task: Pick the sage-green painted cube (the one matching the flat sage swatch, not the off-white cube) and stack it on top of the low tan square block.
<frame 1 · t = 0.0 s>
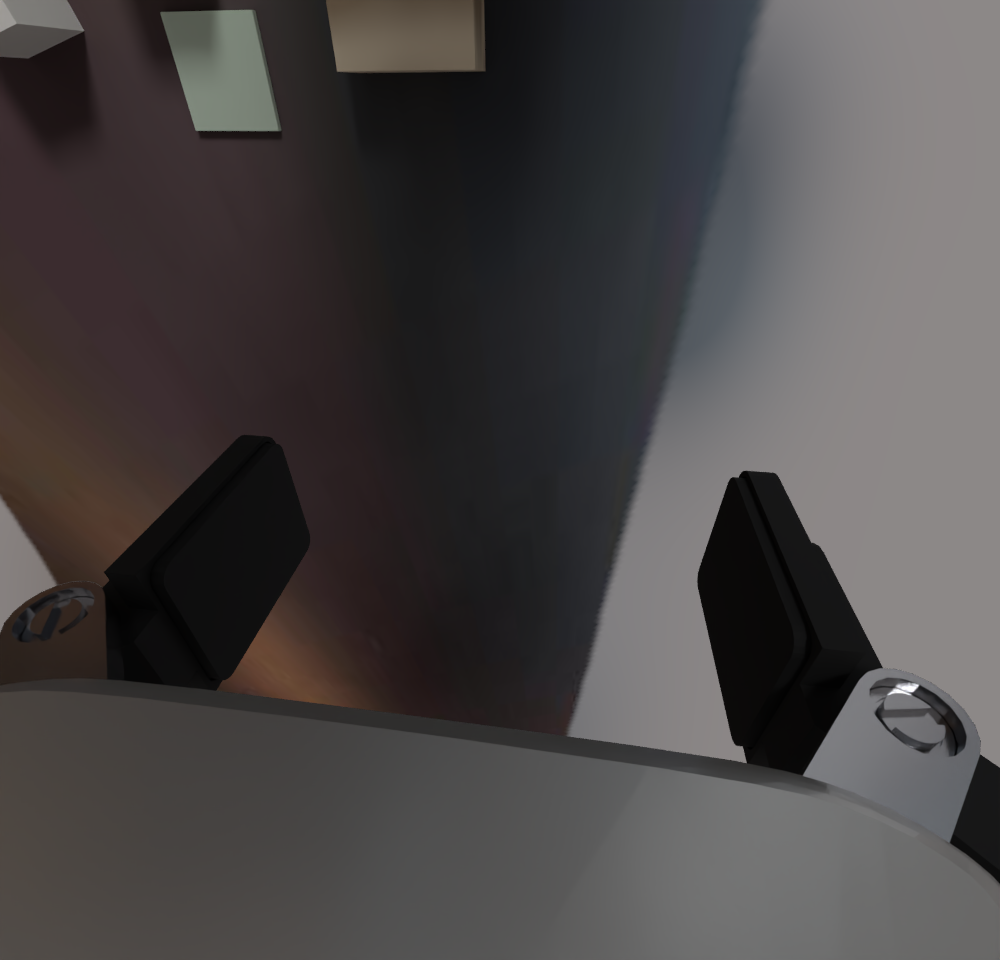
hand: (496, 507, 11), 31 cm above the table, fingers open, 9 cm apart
sage swatch: (225, 74, 33), on the table
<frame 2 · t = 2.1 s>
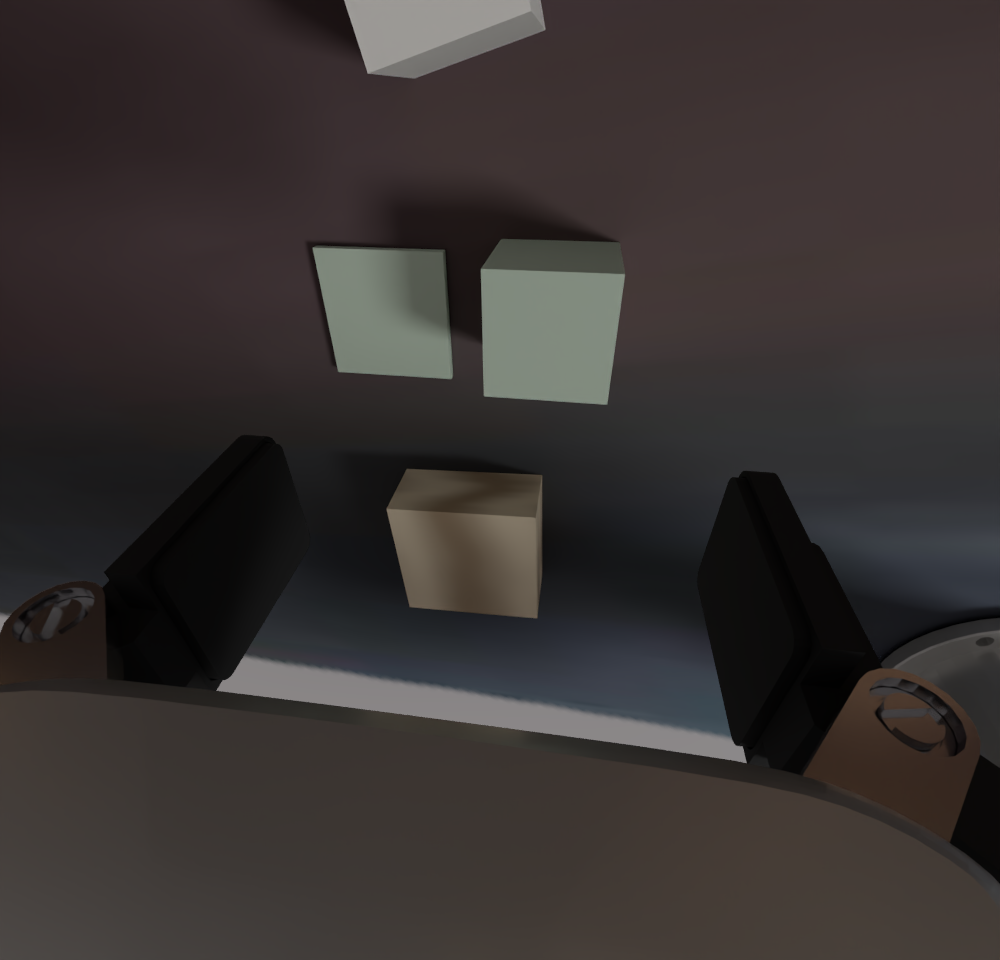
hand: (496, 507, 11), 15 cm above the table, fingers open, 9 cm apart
sage cube: (556, 299, 23), on the table
tan square block: (479, 520, 32), on the table
sage swatch: (388, 314, 25), on the table
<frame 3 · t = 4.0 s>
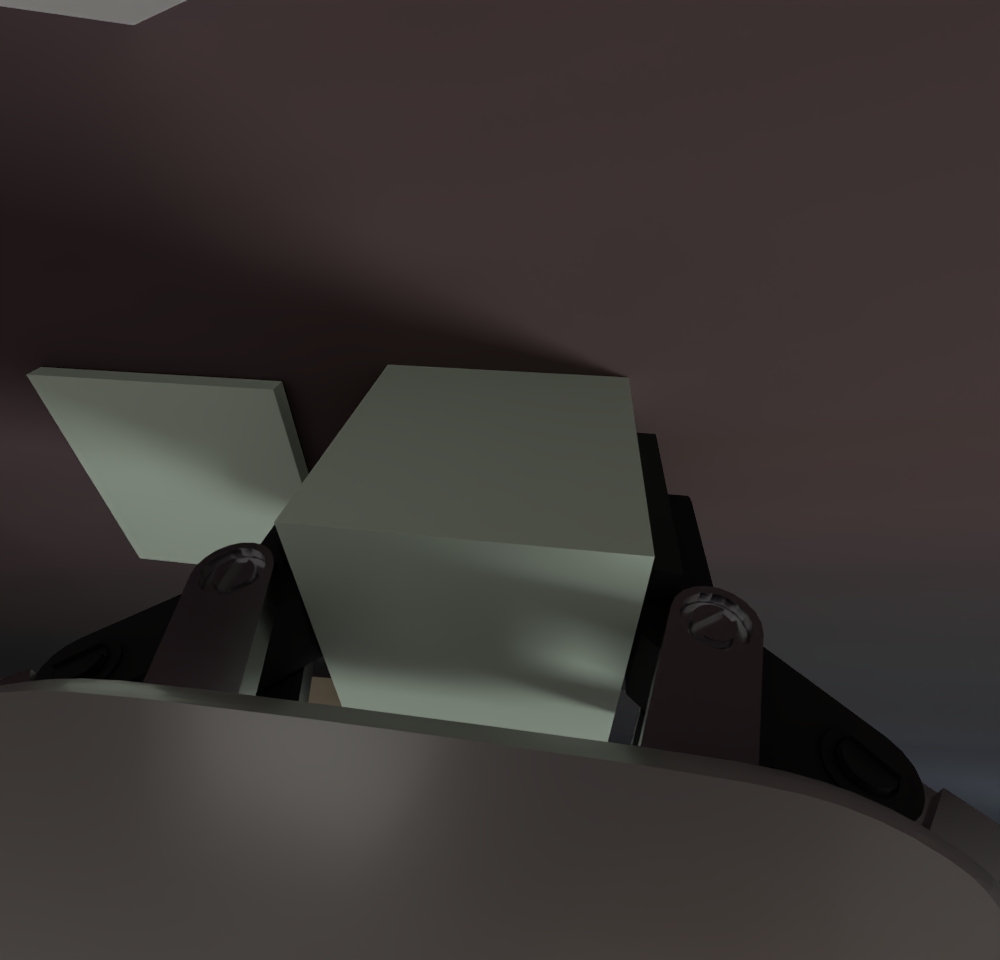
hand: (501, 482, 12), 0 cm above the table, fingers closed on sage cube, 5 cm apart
sage cube: (504, 468, 12), on the table, touching gripper
tan square block: (410, 730, 21), on the table
sage swatch: (204, 478, 13), on the table
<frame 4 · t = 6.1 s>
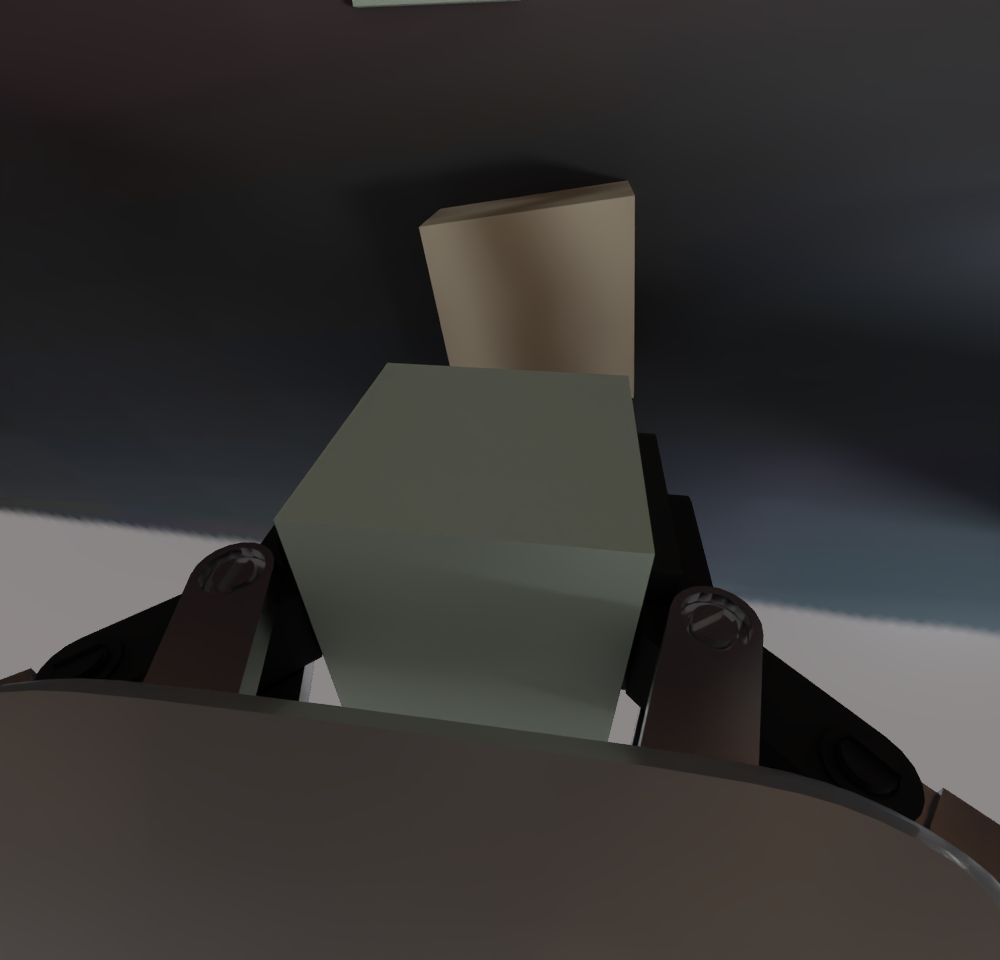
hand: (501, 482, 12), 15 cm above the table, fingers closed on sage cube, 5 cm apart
sage cube: (504, 467, 12), point 15 cm above the table, touching gripper
tan square block: (540, 288, 24), on the table
when the fingers open (5 cm above the table, at t = 8.4 s): sage cube drops 1 cm, resting on tan square block.
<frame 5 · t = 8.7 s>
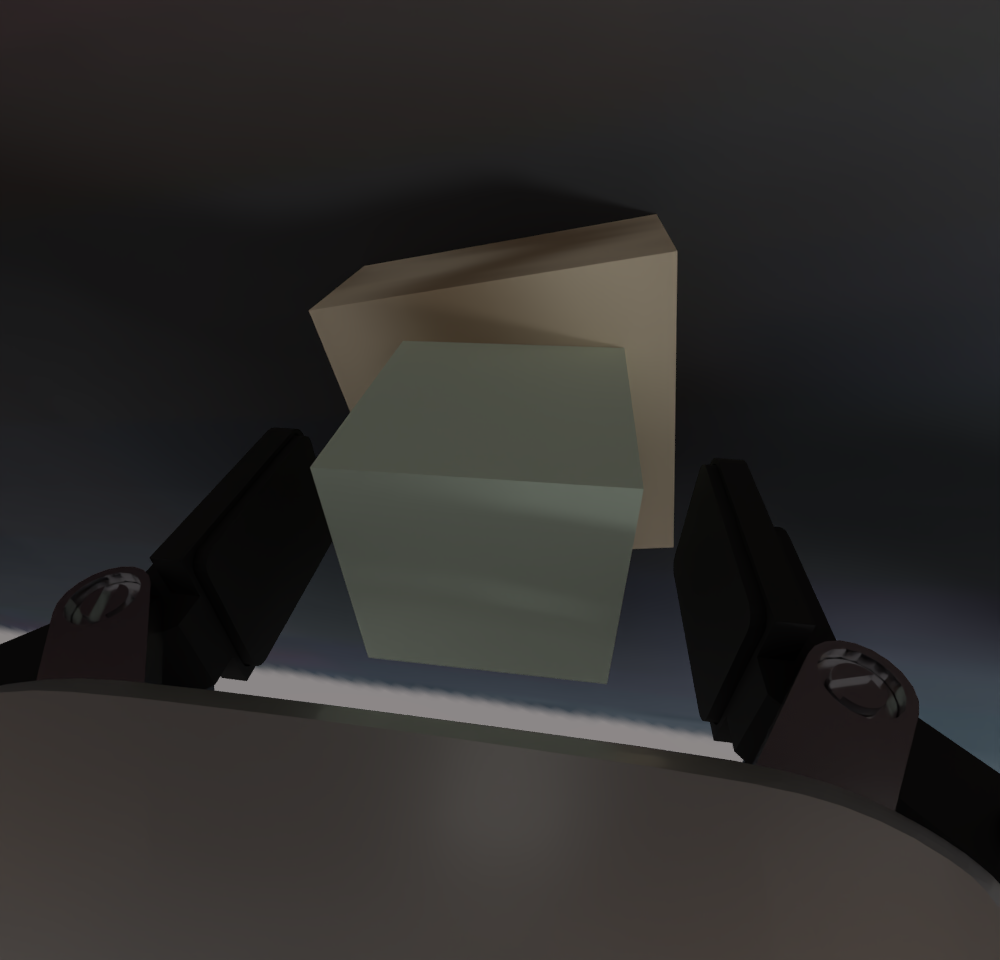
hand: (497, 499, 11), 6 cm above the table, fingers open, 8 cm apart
sage cube: (511, 438, 13), point 4 cm above the table, touching tan square block
tan square block: (525, 373, 16), on the table, touching sage cube
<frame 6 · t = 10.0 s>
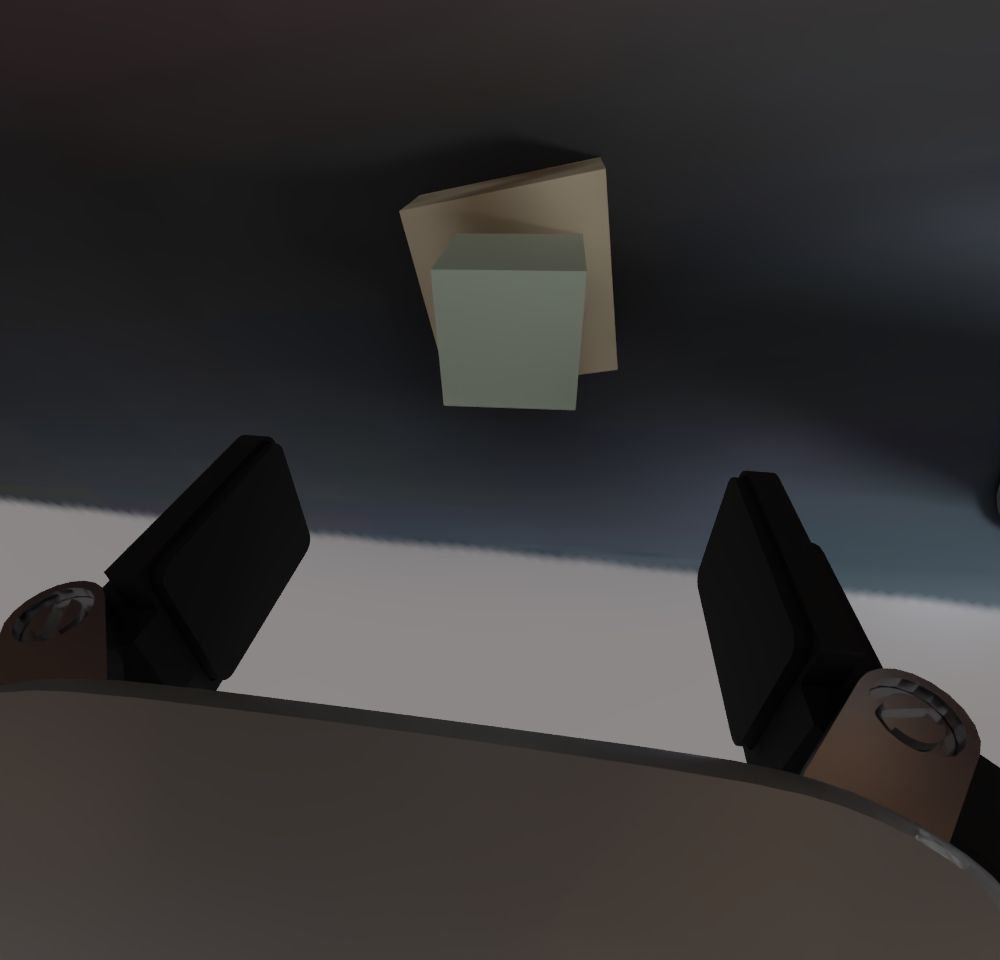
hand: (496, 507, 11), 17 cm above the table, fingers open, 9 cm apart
sage cube: (518, 297, 22), point 4 cm above the table, touching tan square block
tan square block: (522, 269, 25), on the table, touching sage cube
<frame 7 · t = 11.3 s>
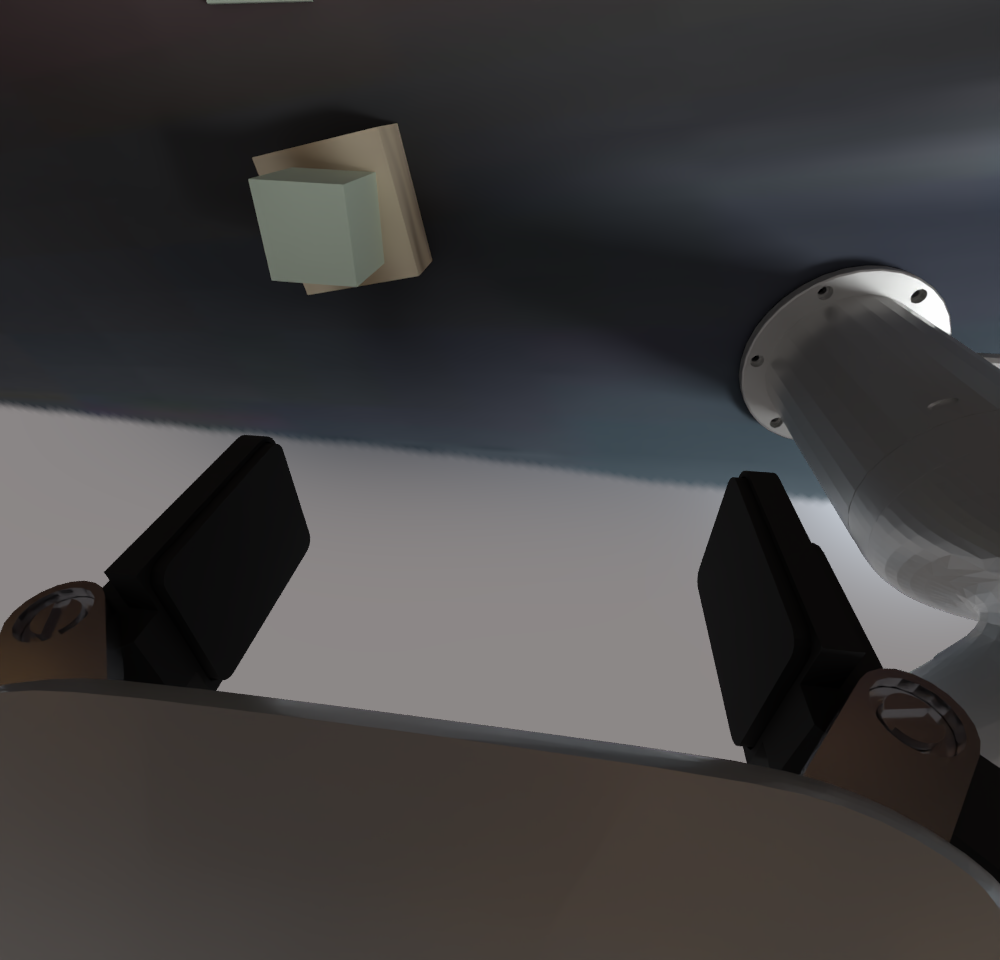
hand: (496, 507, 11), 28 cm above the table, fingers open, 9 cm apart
sage cube: (340, 217, 31), point 4 cm above the table
tan square block: (361, 207, 34), on the table
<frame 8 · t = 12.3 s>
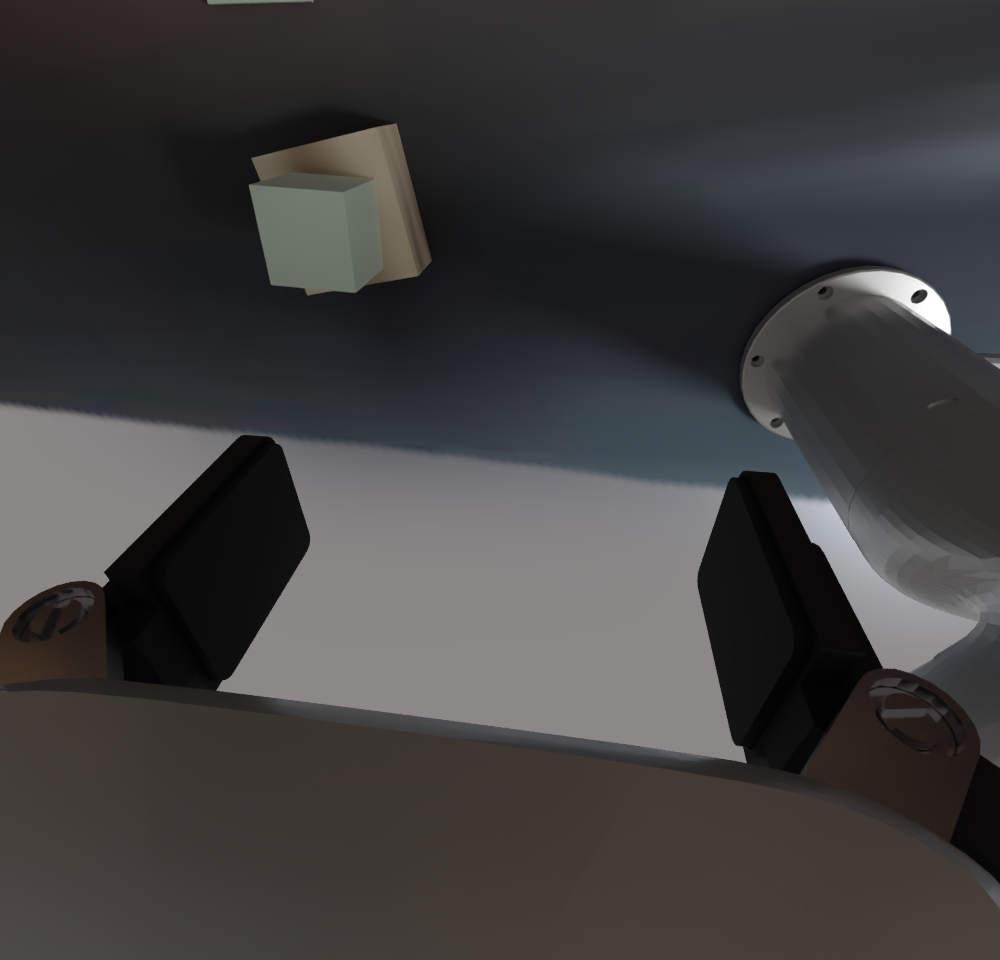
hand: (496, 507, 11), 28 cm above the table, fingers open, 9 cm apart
sage cube: (340, 222, 31), point 4 cm above the table, touching tan square block
tan square block: (361, 207, 34), on the table, touching sage cube
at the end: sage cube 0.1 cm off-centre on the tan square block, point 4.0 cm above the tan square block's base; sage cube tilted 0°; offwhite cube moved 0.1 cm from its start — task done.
